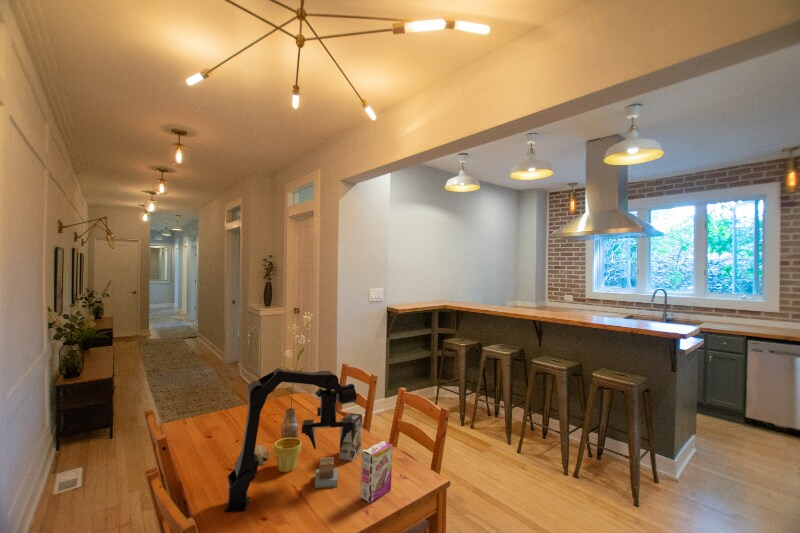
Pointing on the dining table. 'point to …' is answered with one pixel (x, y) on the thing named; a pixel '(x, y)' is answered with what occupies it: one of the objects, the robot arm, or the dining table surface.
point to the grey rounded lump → (261, 454)
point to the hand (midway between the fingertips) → (327, 448)
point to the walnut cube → (326, 467)
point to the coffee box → (352, 439)
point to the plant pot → (287, 453)
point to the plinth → (326, 480)
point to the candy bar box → (376, 471)
